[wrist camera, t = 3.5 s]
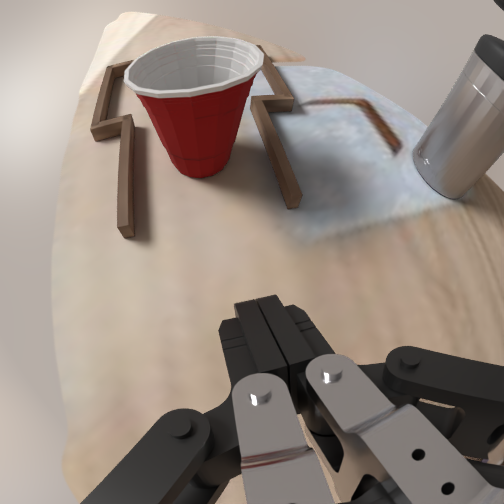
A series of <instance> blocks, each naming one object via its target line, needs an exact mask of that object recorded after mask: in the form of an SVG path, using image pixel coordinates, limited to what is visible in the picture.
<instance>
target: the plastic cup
mask: <svg viewBox="0 0 504 504" xmlns="http://www.w3.org/2000/svg"><path fill="white" fill-rule="evenodd" d="M263 59H264V53H263V52H262V51H261V50H260V49H259V48H258V47H257V46H256V45H254V44H251V43H249V42H246V41H243V40H241V39H236V38H229V37H221V36H208V37H193V38H188V39H183V40H178V41H173V42H170V43H167V44H164V45H162V46H159V47H156V48H154V49H151V50H150V51H148V52H146V53H144V54H143V55H141V56H140V57H138V58H136V59H135V60H134V61H133V62H132V63H131V64H130V65H129V67H128V68H127V69H126V70H125V74H124V83H125V84H126V85H127V86H128V87H129V88H130V89H131V90H133V91H134V92H135V93H136V95H137V97H138V98H139V99H140V100H141V102H142V104H143V106H144V107H145V108H146V110H147V112H148V114H149V117H150V119H151V121H152V123H153V125H154V127H155V129H156V131H157V134H158V136H159V138H160V140H161V142H162V144H163V146H164V147H165V148H166V150H167V152H168V155H169V157H170V159H171V161H172V163H173V164H174V166H175V167H176V168H177V169H178V170H179V172H180V173H182V174H184V175H186V176H189V177H194V178H204V177H208V176H212V175H214V174H216V173H218V172H219V171H221V170H222V169H223V168H224V166H225V165H226V164H227V162H228V160H229V158H230V154H231V150H232V147H233V143H234V142H235V139H236V136H237V132H238V128H239V125H240V121H241V117H242V114H243V110H244V107H245V103H246V99H247V97H248V96H249V92H250V88H251V86H252V84H253V80H254V78H255V76H256V74H257V72H259V71H260V70H261V68H262V65H263Z"/></svg>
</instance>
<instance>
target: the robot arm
mask: <svg viewBox="0 0 504 504" xmlns="http://www.w3.org/2000/svg"><path fill="white" fill-rule="evenodd" d="M494 2H495V3H496V4H497V5H498V6H499V7H500V8H501V9H502V10H504V0H494ZM503 153H504V41H503V40H501V39H498V38H497V37H494V36H492V35H483V36H482V37H481V38H480V39H479V41H478V43H477V45H476V47H475V49H474V51H473V52H472V54H471V56H470V58H469V60H468V62H467V63H466V65H465V67H464V69H463V71H462V72H461V74H460V76H459V78H458V79H457V81H456V83H455V85H454V86H453V88H452V90H451V91H450V93H449V95H448V96H447V98H446V100H445V101H444V103H443V104H442V106H441V108H440V109H439V111H438V113H437V114H436V116H435V117H434V119H433V120H432V122H431V124H430V125H429V127H428V128H427V130H426V131H425V133H424V134H423V136H422V137H421V139H420V140H419V142H418V143H417V145H416V146H415V148H414V150H413V160H414V163H415V166H416V168H417V170H418V171H419V173H420V174H421V176H422V177H423V178H424V179H425V181H426V182H427V183H428V184H429V185H430V186H431V187H432V188H433V189H435V190H436V191H437V192H439V193H440V194H442V195H444V196H446V197H448V198H452V199H458V198H461V197H462V196H463V195H464V194H465V193H466V192H467V191H468V190H469V189H470V188H471V187H472V186H473V185H474V184H475V183H476V182H477V181H478V180H479V179H480V178H481V177H482V176H483V175H484V174H485V173H486V171H487V170H488V169H489V168H490V167H491V166H492V165H493V164H494V163H495V162H496V161H497V159H498V158H499V157H500V156H501V155H502V154H503ZM234 309H235V315H236V318H232V319H227V320H223V321H222V323H221V325H220V328H219V330H218V331H219V335H220V340H221V344H222V348H223V353H224V357H225V361H226V366H227V370H228V374H229V378H230V382H231V392H230V394H229V396H228V398H227V399H226V400H225V401H224V402H223V403H222V404H221V405H219V406H218V407H216V408H214V409H212V410H210V411H208V412H206V413H204V414H202V413H200V412H198V411H196V410H193V409H176V410H173V411H170V412H168V413H166V414H164V415H163V416H162V417H161V418H159V419H158V421H157V422H156V423H155V424H154V425H153V426H152V427H151V428H150V430H149V431H148V432H147V433H146V434H145V435H144V436H143V437H142V438H141V440H140V441H139V442H138V443H137V444H136V445H135V446H134V447H133V448H132V450H131V451H130V452H129V453H128V454H127V455H126V456H125V457H124V458H123V459H122V460H121V461H120V463H119V464H118V465H117V466H116V467H115V468H114V469H113V470H112V471H111V472H110V473H109V474H108V475H107V476H106V477H105V478H104V480H103V481H102V482H101V483H100V484H99V485H98V486H97V487H96V488H95V489H94V490H93V491H92V492H91V493H90V494H89V495H88V496H87V497H86V498H85V499H84V500H83V501H82V502H81V503H80V504H215V503H216V501H217V500H218V498H219V497H220V495H221V494H222V492H223V491H224V489H225V488H226V486H227V485H228V483H229V481H230V479H232V478H234V477H236V476H238V475H240V474H241V473H242V478H243V483H244V489H245V495H246V500H247V504H335V502H334V500H333V497H332V494H331V492H330V489H329V486H328V484H327V481H326V478H325V476H324V473H323V470H322V468H321V465H320V462H319V460H318V457H317V455H316V453H315V451H314V449H313V448H310V447H309V446H308V444H307V442H306V439H305V437H304V434H303V431H302V428H301V425H300V422H299V420H298V417H297V414H300V413H301V415H302V417H303V419H304V421H305V433H306V435H307V437H308V438H309V440H310V442H311V443H312V445H313V447H314V448H315V450H316V452H317V453H318V455H319V457H320V458H321V460H322V462H323V463H324V465H325V467H326V468H327V470H328V472H329V473H330V475H331V477H332V479H333V482H334V487H335V490H336V493H337V495H338V497H339V499H340V500H341V502H342V503H338V504H504V366H500V365H494V364H489V363H484V362H479V361H475V360H470V359H465V358H461V357H456V356H452V355H447V354H443V353H438V352H434V351H430V350H426V349H422V348H417V347H413V346H402V347H398V348H396V349H394V350H392V351H391V352H390V353H389V354H388V356H387V358H386V362H385V363H378V364H369V365H356V364H355V363H354V362H353V361H352V360H351V359H350V358H348V357H346V356H343V355H339V354H335V352H334V351H333V350H332V348H331V347H330V345H329V344H328V343H327V341H326V340H325V339H324V337H323V336H322V334H321V333H320V332H319V330H318V329H317V328H316V326H315V325H314V323H313V322H312V321H311V320H310V318H309V317H308V315H307V314H306V312H305V311H304V310H302V309H300V308H298V307H297V306H295V305H289V306H285V307H284V306H283V304H282V303H281V301H280V300H279V298H278V296H277V295H271V296H267V297H262V298H258V299H255V300H254V299H253V300H249V301H244V302H239V303H235V304H234ZM420 398H422V399H426V400H430V401H434V402H438V403H443V404H447V405H451V406H456V407H454V408H445V407H440V406H436V405H432V404H428V403H424V402H420V401H419V399H420ZM462 455H464V456H469V457H475V458H481V459H488V460H489V461H488V462H487V463H484V462H479V461H474V460H470V459H465V458H464V457H463V456H462Z"/></svg>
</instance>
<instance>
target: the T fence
mask: <svg viewBox="0 0 504 504" xmlns="http://www.w3.org/2000/svg"><path fill="white" fill-rule="evenodd" d="M256 46H257V47H258V48H259V49H260V50H261V51H262V52H263V53H264V59H263V65H262V68H261V70H262V72H263V74H264V75H265V77H266V79H267V81H268V83H269V84H270V86H271V88H272V90H273V92H274V94H275V95H261V96H251V105H250V110H251V112H252V115H253V117H254V120H255V122H256V125H257V127H258V130H259V132H260V135H261V138H262V140H263V143H264V146H265V148H266V151H267V153H268V156H269V159H270V161H271V164H272V167H273V170H274V172H275V175H276V178H277V181H278V183H279V186H280V189H281V192H282V194H283V197H284V200H285V203H286V206H287V209H292V208H298V206H299V203H300V201H301V198H302V193H301V190H300V188H299V185H298V183H297V180H296V178H295V175H294V173H293V170H292V168H291V165H290V163H289V161H288V158H287V156H286V153H285V151H284V149H283V146H282V144H281V142H280V139H279V137H278V135H277V132H276V130H275V128H274V126H273V123H272V121H271V119H270V117H269V115H268V112H286V111H292V107H293V102H294V98H293V96H292V94H291V93H290V91H289V89H288V88H287V86H286V84H285V83H284V81H283V79H282V78H281V76H280V75H279V73H278V71H277V70H276V68H275V67H274V65H273V64H272V62H271V61H270V59H269V58H268V56H267V55H266V53H265V52H264V50H263V49H262V47H261V46H260V45H256ZM133 61H134V60H131V61H127V62H123V63H119V64H115V65H111V66H108V67H107V69H106V72H105V75H104V78H103V81H102V85H101V88H100V92H99V96H98V99H97V103H96V107H95V111H94V115H93V120H92V124H91V129H90V130H91V132H92V135H93V137H94V140H95V141H99V140H102V139H106V138H110V137H114V136H118V135H121V141H120V153H119V169H118V194H117V228H118V229H119V231H120V232H121V234H122V236H123V237H124V238H128V237H133V236H135V233H134V208H133V155H134V130H135V125H134V122H133V118H132V114H129V115H124V116H120V117H116V118H112V119H109V120H106V117H107V112H108V107H109V102H110V97H111V92H112V88H113V84H114V79H115V78H116V77H120V76H124V74H125V70H126V69H127V68H128V67H129V65H130V64H131V63H132V62H133Z"/></svg>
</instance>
